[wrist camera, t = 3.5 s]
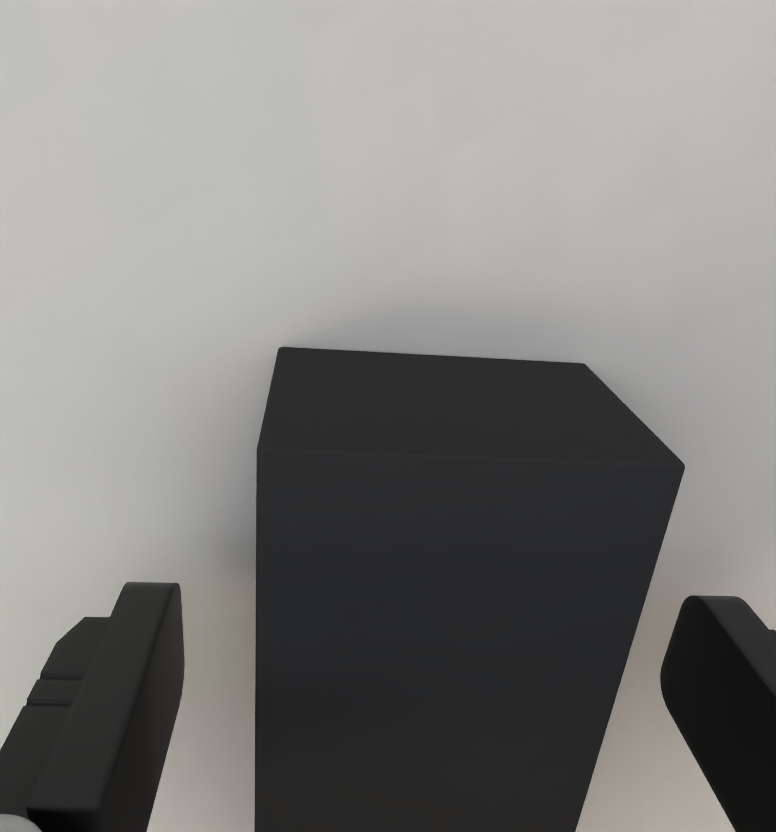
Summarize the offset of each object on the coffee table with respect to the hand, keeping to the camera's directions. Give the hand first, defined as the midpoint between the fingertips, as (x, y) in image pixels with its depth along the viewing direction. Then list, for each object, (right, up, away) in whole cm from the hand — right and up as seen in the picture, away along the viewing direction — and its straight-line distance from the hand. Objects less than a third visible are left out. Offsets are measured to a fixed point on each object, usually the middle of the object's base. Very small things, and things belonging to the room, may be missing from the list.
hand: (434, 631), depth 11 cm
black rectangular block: (0, -1, +3) cm, 3 cm away
